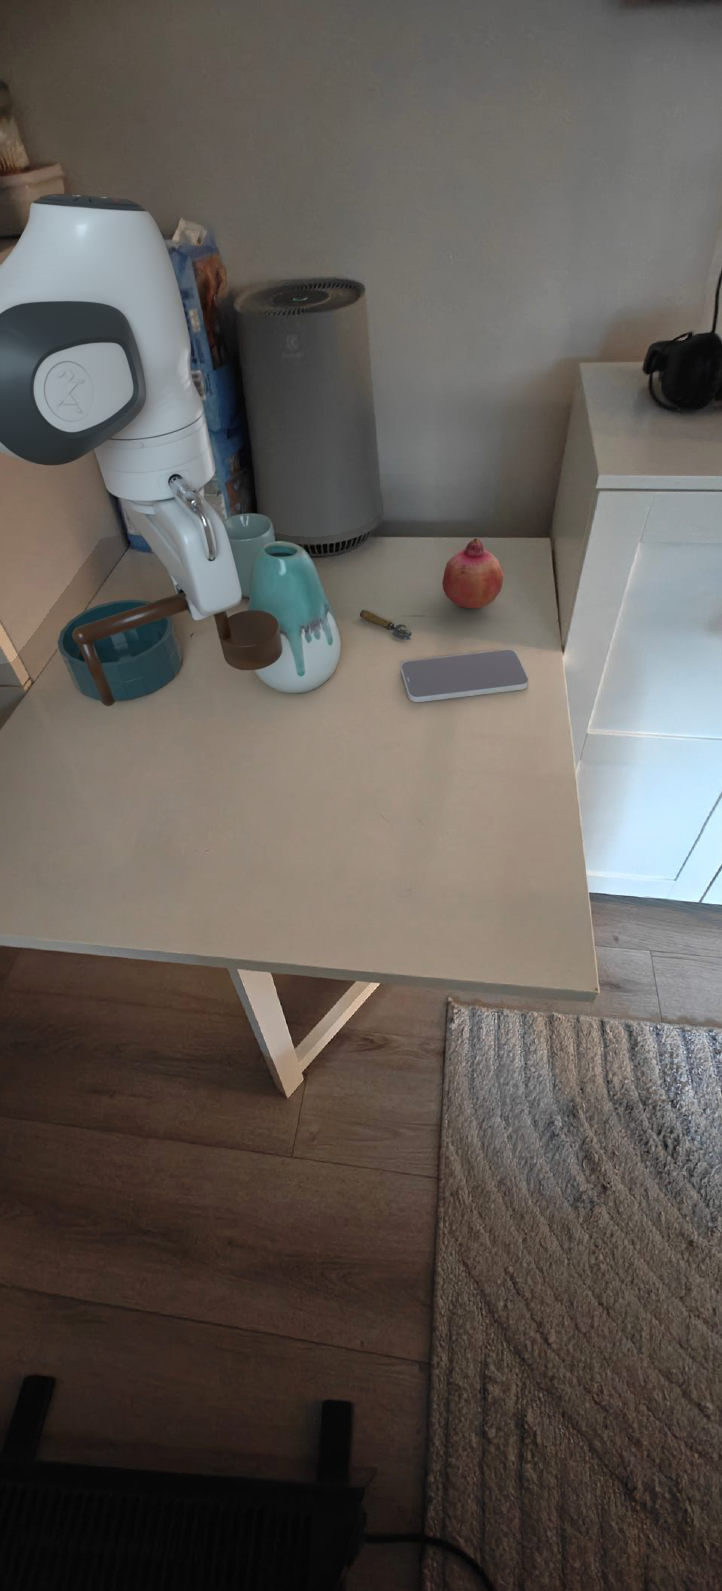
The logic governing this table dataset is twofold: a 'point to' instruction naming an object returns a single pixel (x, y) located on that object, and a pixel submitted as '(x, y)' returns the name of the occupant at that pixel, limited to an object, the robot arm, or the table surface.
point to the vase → (295, 617)
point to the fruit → (473, 577)
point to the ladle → (242, 635)
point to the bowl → (124, 653)
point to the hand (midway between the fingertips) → (194, 607)
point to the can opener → (387, 625)
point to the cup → (247, 542)
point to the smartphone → (463, 675)
